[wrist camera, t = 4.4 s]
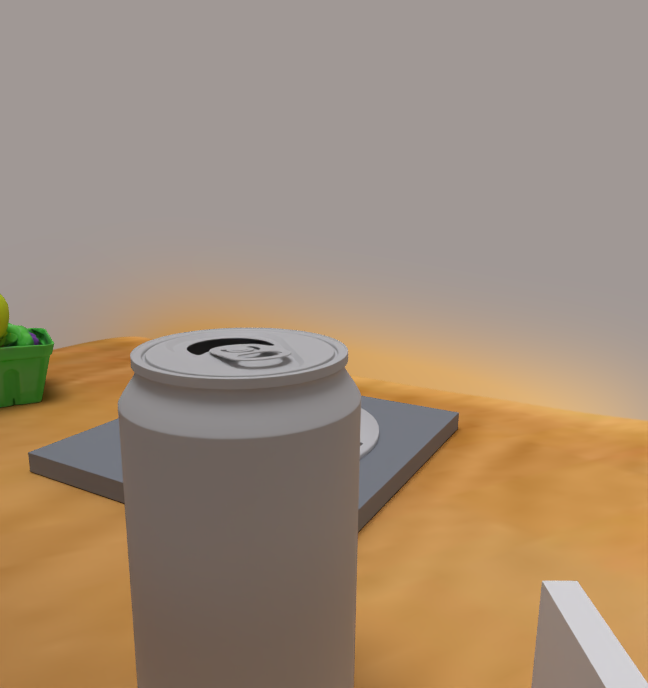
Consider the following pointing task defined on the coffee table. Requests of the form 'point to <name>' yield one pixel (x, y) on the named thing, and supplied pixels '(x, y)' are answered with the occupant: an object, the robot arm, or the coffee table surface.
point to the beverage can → (242, 509)
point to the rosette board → (374, 470)
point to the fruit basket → (22, 361)
